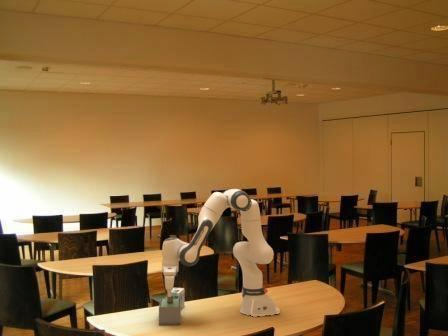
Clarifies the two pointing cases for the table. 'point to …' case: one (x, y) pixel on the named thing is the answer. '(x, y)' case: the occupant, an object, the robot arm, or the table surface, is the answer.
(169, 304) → the lid
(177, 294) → the light bulb box
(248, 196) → the robot arm
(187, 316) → the table surface
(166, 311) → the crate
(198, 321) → the table surface
